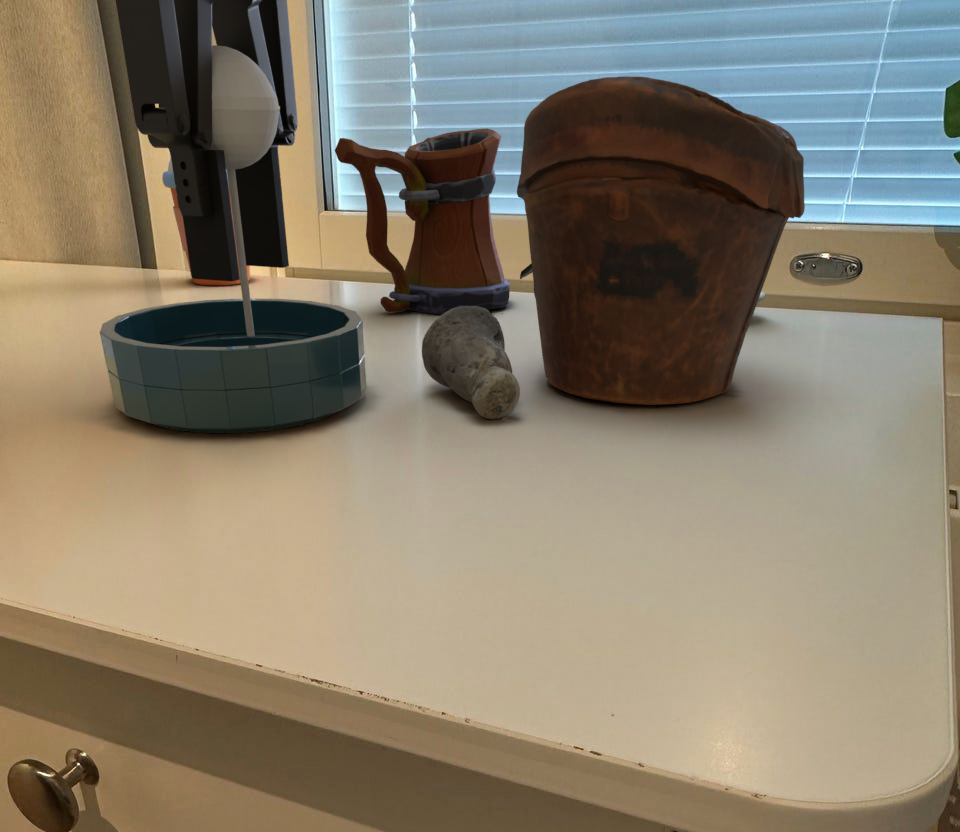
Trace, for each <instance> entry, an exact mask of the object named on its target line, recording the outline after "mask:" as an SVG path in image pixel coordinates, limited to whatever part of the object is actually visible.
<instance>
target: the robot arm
mask: <svg viewBox="0 0 960 832" xmlns="http://www.w3.org/2000/svg"><path fill="white" fill-rule="evenodd" d="M115 5H116V6H115V7H116V11H117V18H118V24H119V25H118V26H119V30H120V36H121V42H122V47H123V48H122V49H123V54H124V55H123V56H124V60H125V68H126V74H127V81H128V86H129V92H130V98H131V104H132V110H133V118H134V122H135V126H136V129H137V130H138V132H139V133H140V134H142V135H144V136H147V139H148V142H149V144H150V145H151V147H152V148H154V149H168V152H169V154H170V158H171V161H172V167H173V174H174V181H175V185H176V186H175V187H176V193H177V200H178V206H179V209H180V212H181V214H182V216H183V222H184V229H185V236H186V242H187V249H188V256H189V262H190V269H191V273H190V277H191V276H192V277H191V280H192V279H204V280H219V281H236V280H240V277H239V269H238V261H237V253H236V245H235V237H234V229H233V221H232V212H231V204H230V196H229V188H228V180H227V172H226V164H225V156H224V150H206V149H209V148H210V147H211V144H212V46H213V36H214V41H215V45H217V46H226V47H229V48H232V49H235V50H237V51H239V52H241V53H243V54H244V55H246V56H248V57H249V58H250V59H251V60H252V61H253V62H255V63H256V64H257V65H258V66H259V68H260V69H261V70H262V71H263V73H264V74H265V75H266V77H267V79H268V80H269V82H270V84H271V86H272V88H273V90H274V92H275V94H276V96H277V100H278V105H279V118H278V125H277V131H276V135H275V138H274V140H273V143H272V145H271V146H270V148H269V149H268V151H267V153H266V154H265V155H264V156H263V157H262V158H261V159H260V160H258V161H257V162H255V163H254V164H252V165H250V166H247V167H244V168H241V169H235V174H236V182H237V191H238V199H239V208H240V216H241V225H242V233H243V241H244V250H245V258H246V266H249V267H264V268H278V269H283V268H284V269H285V268H288V267H290V263H289V254H288V253H289V251H288V242H287V233H286V223H285V221H286V220H285V212H284V211H285V210H284V201H283V188H282V179H281V167H280V158H279V146H280V147H281V146H285V147H289V146H291V147H292V146H293V145H294V144H295V141H296V131H297V130H298V126H299V123H298V120H299V119H298V110H297V109H298V108H297V98H296V97H297V96H296V88H295V87H296V86H295V85H296V84H295V74H294V64H293V54H292V42H291V30H290V20H289V19H290V17H289V8H288V0H115ZM156 105H158V107H156ZM189 115H190V118H191V119H190V118H189ZM190 269H189V270H190Z"/></svg>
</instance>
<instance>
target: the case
mask: <svg viewBox="0 0 960 832" xmlns="http://www.w3.org/2000/svg"><path fill="white" fill-rule="evenodd" d="M804 161H805V160H804V156H803V154H802V153H801V152H800V151H799V150H798V146H797V142H796V140H795V138H794V135H792V134H791V132H789V131H788V130H786V129H785V128H783V127H782V126H781V125H778V124H776V123H774V122H771V121H770V120H767V119H764V118H763V117H759V116H758V115H757V116H756V115H753V114H749V113H746V112H743V111H741V110H739V109H736V108H735V107H734V106H733V105H731V104H730V103H729V102H726V101H724V100H722V99H720V98H719V97H717V96H715V95H713V94H709V93H708V92H707V91H703V90H699V89H696V88H695V87H692V86H689V85H686V84H682V83H678V82H674V81H670V80H664V79H660V78H659V79H658V78H653V77H649V76H627V75H626V76H608V77H606V76H605V77H600V78H594V79H588V80H584V81H581V82H578V83H575V84H573V85H570V86H567V87H564V88H563V89H560V90H558V91H556V92H554V93H552V94H550V95H549V96H547V97H546V98H544V99H543V100H542V101H540V103H538V104H537V105H536V106H535V107H534V108H533V109H532V110H531V111H530V112H529V114H528V115H527V117H526V118H525V121H524V127H523V145H522V152H521V161H520V163H521V164H520V174H519V177H518V184H517V187H516V195H517V197H518V198H520V199H522V200H523V202H524V210H525V215H526V222H527V231H528V232H527V233H528V243H529V253H530V254H529V255H530V262H531V263H530V264H528V265H527V266H526V267H525V268H524V269H522V270H521V271H520V274H519V280H522V279H523V278H525V277H527V276H529V275H530V274H532V280H533V294H534V299H535V304H536V313H537V315H536V316H537V321H538V331H539V339H540V347H541V355H542V362H543V368H544V370H543V371H544V375H545V378H546V380H547V382H548V383H549V384H550V385H551V386H552V387H554V388H556V389H558V390H559V391H562V392H565V393H566V394H570V395H573V396H575V397H580V398H584V399H587V400H588V399H589V400H594V401H602V402H610V403H617V404H627V405H646V406H647V405H648V406H649V405H653V406H654V405H655V406H656V405H679V404H688V403H694V402H700V401H704V400H707V399H710V398H713V397H715V396H718V395H721V394H723V393H726V392H727V391H728V390H729V389H730V388H731V386H732V384H733V378H734V375H735V374H734V373H735V369H736V365H737V363H738V360H739V356H740V353H741V350H742V347H743V344H744V341H745V339H746V334H747V332H748V330H749V327H750V325H751V322H752V318H753V316H754V313H755V311H756V308H757V306H758V305H757V302H758V299H759V296H760V293H761V291H763V288H764V285H765V282H766V280H767V277H768V273H769V272H770V268H771V265H772V263H773V259H774V256H775V254H776V252H777V248H778V245H779V242H780V240H781V238H782V234H783V232H784V229H785V227H786V225H787V222H788V220H789V218H790V219H794V218H798V219H800V218H802V216H803V215H804V213H805V206H806V205H805V204H806V203H805V178H804V170H805V169H804V165H805V163H804ZM756 305H757V306H756Z"/></svg>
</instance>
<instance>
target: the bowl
mask: <svg viewBox="0 0 960 832" xmlns="http://www.w3.org/2000/svg"><path fill="white" fill-rule="evenodd" d="M250 301H251V309H252V318H253V326H254V335H255V336H247V331H246V323H245V315H244V307H243V298H224V299H223V298H222V299H205V300H196V301H185V302H184V301H183V302H176V303H169V304H163V305H157V306H152V307H151V306H150V307H146V308H141V309H138V310H133V311H129V312H126V313H123V314H118V315H116V316H115V317H113V318H111V319H109V320H107V321H105V322H103V323H102V324H101V327H100V330H99V336H100V341H101V345H102V350H103V351H102V352H103V356H104V360H105V366H106V369H107V375H108V380H109V384H110V390H111V395H112V399H113V404H114V407H116V408H117V409H118V410H119V411H121V412H122V413H123V414H124V415H125V416H127V417H129V418H133V419H136V420H140V421H141V422H142V421H143V422H146V423H149V424H150V425H154V426H156V427H157V426H158V427H161V428H163V429H169V430H175V431H181V432H189V433H202V434H245V433H259V432H266V431H274V430H282V429H287V428H293V427H298V426H302V425H306V424H311V423H313V422H317V421H320V420H323V419H325V418H327V417H330V416H332V415H334V414H336V413H338V412H340V411H342V410H345V409H346V408H348V407H350V406H352V405H353V404H355V403H357V402H358V401H360V400H362V398H363V396H364V394H365V392H366V390H367V375H366V357H365V356H366V355H365V341H364V340H365V339H364V338H365V337H364V322H363V321H364V320H363V318H362V317H361V316H360V315H359V314H358V313H357V312H356V311H355V310H352V309H349V308H346V307H343V306H340V305H337V304H331V303H325V302H318V301H313V300H302V299H290V298H289V299H287V298H253V297H252V298H251V297H250Z"/></svg>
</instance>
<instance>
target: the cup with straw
mask: <svg viewBox="0 0 960 832" xmlns="http://www.w3.org/2000/svg"><path fill="white" fill-rule="evenodd" d="M168 161H169V162H168V165H167V171H163V173H162V177H161V178H162V180H161V181H162V183H163V184H162V185H164V187H165V188H168V189H170V192H171V198H172V202H173V206H172V209H173V213H174V218H175V222H176V227H177V230H178V235H179V239H180V243H181V247H182V250H183V252H185V256H186V261H187V264H188V269H189V273H190V274H191V269H190V262H189V256H188V249H187V242H186V236H185V229H184V222H183V216H182V214H181V212H180V209H179V206H178V200H177V193H176V187H175V186H176V185H175V181H174V174H173V167H172V161H171V157H170V158H169V160H168ZM226 172H227V169H226ZM227 180H228V176H227ZM228 188H229V184H228ZM229 196H230V192H229ZM230 204H231V200H230ZM231 212H232V208H231ZM232 221H233V217H232ZM233 229H234V225H233ZM234 237H235V233H234ZM235 245H236V241H235ZM236 253H237V249H236ZM237 261H238V258H237ZM246 267H247V275H248V282H249V281H250V279H251V276H250V275H251V272H250V268H251V266H246ZM238 269H239V266H238ZM190 277H191V280H192V282H193V283H194V284H197V285H201V286H232V285H234V286H235V285H239V284H240V285H241V282H240V280H236V281H219V280H204V279H192V276H191V275H190ZM239 277H240V274H239Z"/></svg>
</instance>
